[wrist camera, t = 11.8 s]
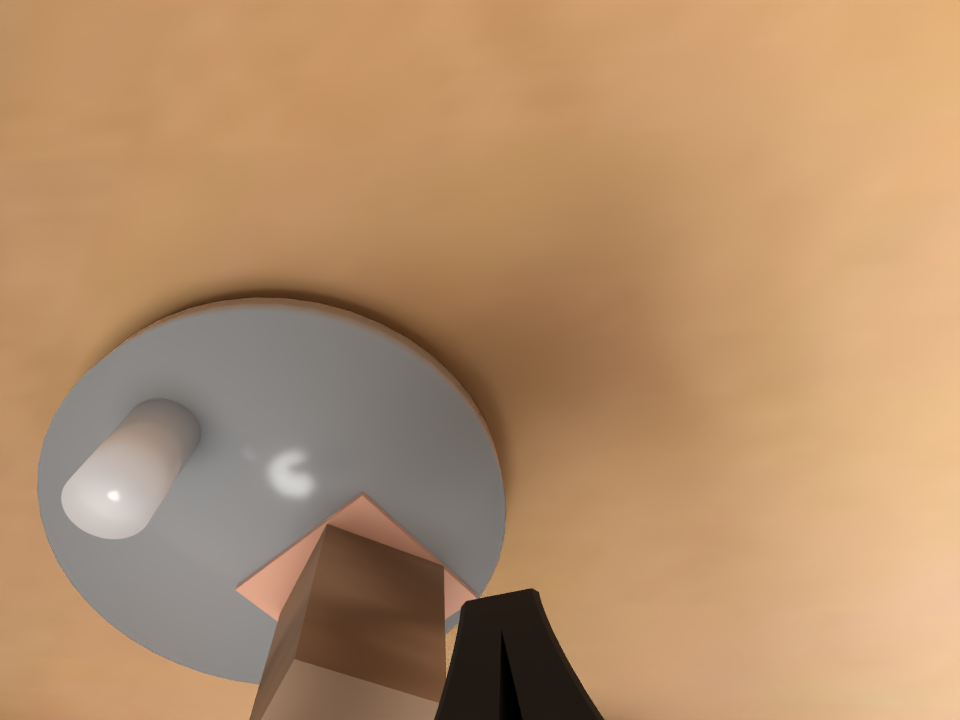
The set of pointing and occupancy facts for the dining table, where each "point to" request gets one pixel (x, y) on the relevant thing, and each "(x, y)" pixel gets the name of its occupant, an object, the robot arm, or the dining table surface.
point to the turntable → (259, 472)
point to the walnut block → (357, 636)
